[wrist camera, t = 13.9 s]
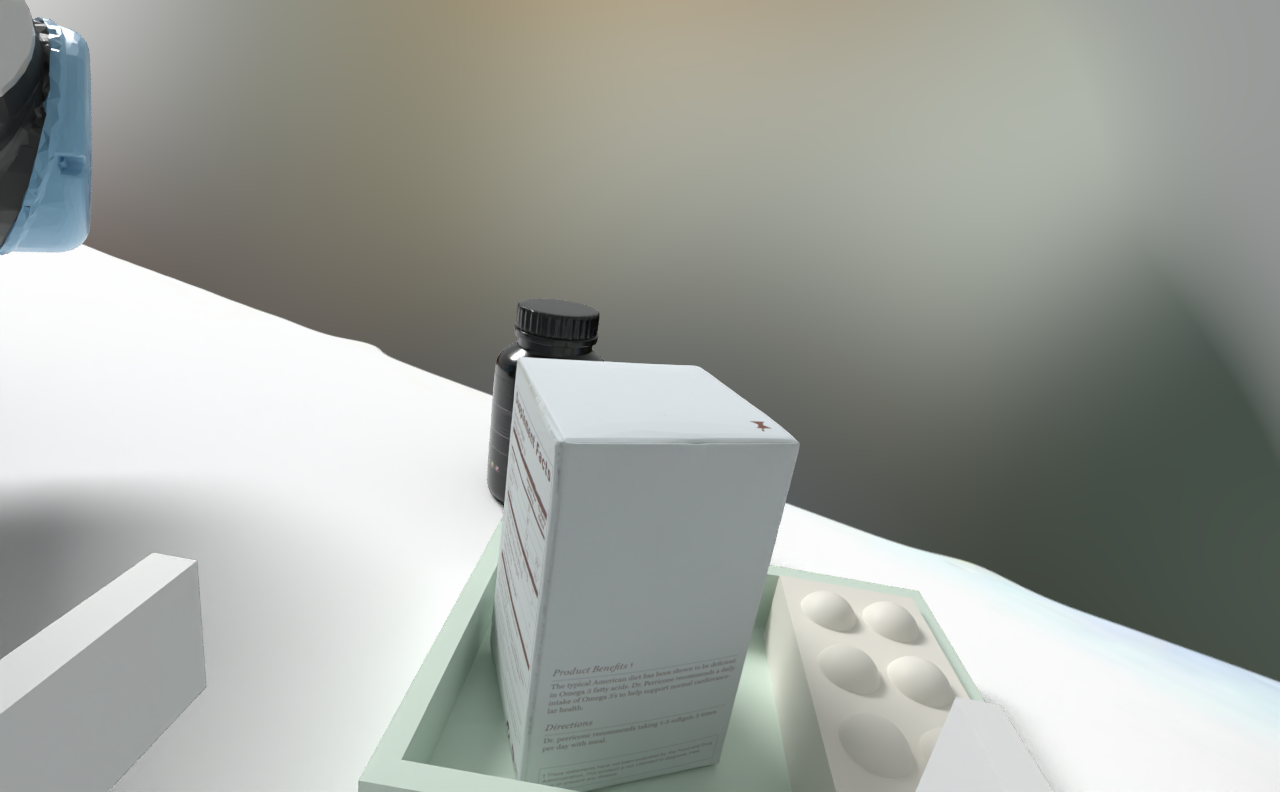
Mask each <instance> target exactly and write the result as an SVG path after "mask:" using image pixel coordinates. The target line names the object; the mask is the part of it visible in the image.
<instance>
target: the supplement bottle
mask: <svg viewBox="0 0 1280 792" xmlns="http://www.w3.org/2000/svg"><path fill="white" fill-rule="evenodd" d="M598 324H599V312H598V311H597V310H596V309H594V308H592V307H589V306H587V305H583V304H579V303H575V302H570V301H563V300H555V299H527V300H523V301H520V302H519V303H518V308H517V319H516V324H515V329H514V333H515V335H516V336H518V341H517V342H515V343H513V344H511V345H509V346H507V347H506V348H505V349H504V350H503V351H502V352H501V353H500V354H499V356H498V358H497V360H496V365H495V374H494V387H493V401H492V414H491V428H490V441H489V455H488V471H487V484H488V487H489V489H490V491H491V493H492V494H493V495H494V496H495V497H496V498H497V499H498V500H499V501H501V502H502V503H504V501H505V490H506V478H507V467H508V455H509V444H510V433H511V422H512V413H513V402H514V390H515V379H516V369H517V361H518V357H529V358H545V359H563V360H582V361H601V362H604V360H603V359H602V358H601V356H599V355H598V354H597V353H596V352H594V351H593V350H592V346H593V345H595V344H596V343H597V341H598V333H597V331H598Z"/></svg>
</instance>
